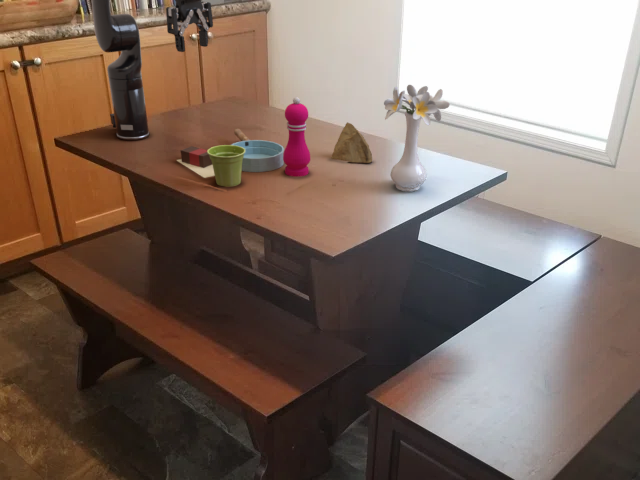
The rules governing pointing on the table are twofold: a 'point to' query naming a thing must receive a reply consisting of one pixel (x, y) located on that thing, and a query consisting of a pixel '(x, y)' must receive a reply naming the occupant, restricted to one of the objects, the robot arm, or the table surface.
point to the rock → (352, 146)
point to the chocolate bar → (196, 157)
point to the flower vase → (413, 132)
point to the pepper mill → (296, 140)
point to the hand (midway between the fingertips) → (192, 48)
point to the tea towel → (200, 169)
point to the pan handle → (241, 136)
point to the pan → (261, 155)
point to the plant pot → (227, 164)
